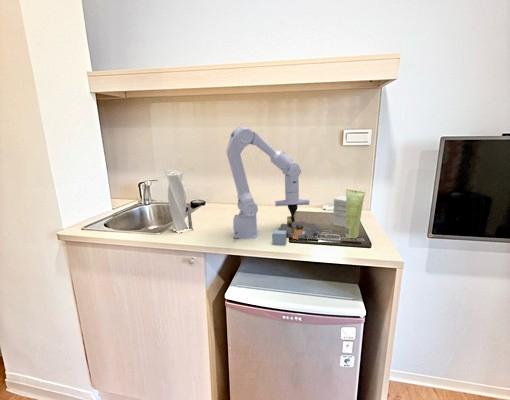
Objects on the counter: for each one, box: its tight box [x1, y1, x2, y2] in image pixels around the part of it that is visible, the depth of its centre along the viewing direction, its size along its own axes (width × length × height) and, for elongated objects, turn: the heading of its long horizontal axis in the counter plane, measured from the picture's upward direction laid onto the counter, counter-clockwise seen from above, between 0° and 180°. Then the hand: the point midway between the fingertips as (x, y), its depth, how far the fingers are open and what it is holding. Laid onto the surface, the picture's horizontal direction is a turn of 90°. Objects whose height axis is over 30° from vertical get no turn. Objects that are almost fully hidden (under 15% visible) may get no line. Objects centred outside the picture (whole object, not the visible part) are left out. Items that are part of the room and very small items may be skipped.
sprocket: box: [277, 215, 322, 241], centre depth 117 cm, size 18×18×6 cm
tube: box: [344, 188, 366, 239], centre depth 109 cm, size 6×5×20 cm
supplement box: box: [332, 195, 346, 228], centre depth 124 cm, size 7×7×13 cm
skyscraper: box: [164, 169, 194, 231], centre depth 122 cm, size 8×8×28 cm
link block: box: [271, 229, 287, 246], centre depth 107 cm, size 5×4×5 cm
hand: (292, 221), depth 122 cm, fingers closed, pressing on sprocket
